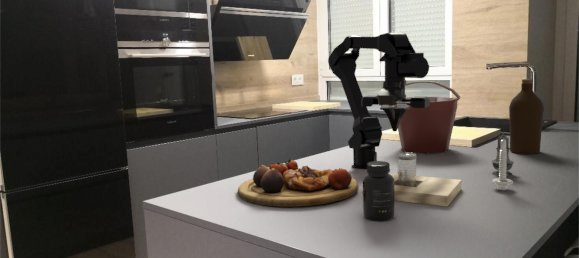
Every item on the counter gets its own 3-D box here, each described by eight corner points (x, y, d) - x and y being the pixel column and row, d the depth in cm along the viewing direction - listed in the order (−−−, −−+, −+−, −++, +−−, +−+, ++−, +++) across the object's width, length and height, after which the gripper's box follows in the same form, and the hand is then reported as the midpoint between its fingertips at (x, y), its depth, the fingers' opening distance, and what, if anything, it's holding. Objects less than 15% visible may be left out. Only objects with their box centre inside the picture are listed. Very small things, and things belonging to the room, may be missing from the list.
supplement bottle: (359, 212, 110) (359, 160, 108) (389, 210, 111) (389, 159, 109) (367, 222, 103) (366, 167, 102) (398, 220, 104) (398, 165, 102)
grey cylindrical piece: (395, 193, 124) (395, 155, 123) (401, 189, 128) (400, 151, 127) (413, 195, 122) (413, 156, 120) (418, 191, 126) (418, 152, 124)
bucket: (380, 150, 180) (379, 83, 177) (408, 141, 197) (408, 79, 193) (444, 157, 165) (445, 83, 161) (469, 147, 181) (470, 79, 178)
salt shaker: (515, 176, 137) (517, 134, 135) (493, 176, 138) (494, 134, 136) (510, 171, 142) (511, 130, 141) (489, 171, 144) (490, 131, 142)
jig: (372, 197, 121) (372, 188, 121) (393, 182, 135) (393, 173, 135) (447, 206, 112) (447, 196, 112) (461, 189, 126) (461, 179, 126)
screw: (517, 190, 123) (502, 192, 122) (501, 185, 128) (487, 188, 126) (518, 139, 122) (503, 141, 120) (502, 136, 126) (488, 138, 124)
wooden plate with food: (383, 189, 130) (382, 158, 129) (296, 217, 108) (295, 180, 107) (299, 174, 153) (298, 148, 152) (214, 194, 132) (212, 164, 131)
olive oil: (521, 155, 163) (524, 80, 160) (501, 150, 173) (503, 79, 170) (549, 153, 165) (552, 79, 162) (527, 148, 176) (529, 78, 172)
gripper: (353, 79, 138) (354, 133, 140) (419, 79, 128) (418, 137, 131) (368, 76, 147) (368, 128, 150) (430, 76, 138) (429, 131, 140)
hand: (394, 131), depth 142 cm, fingers closed
